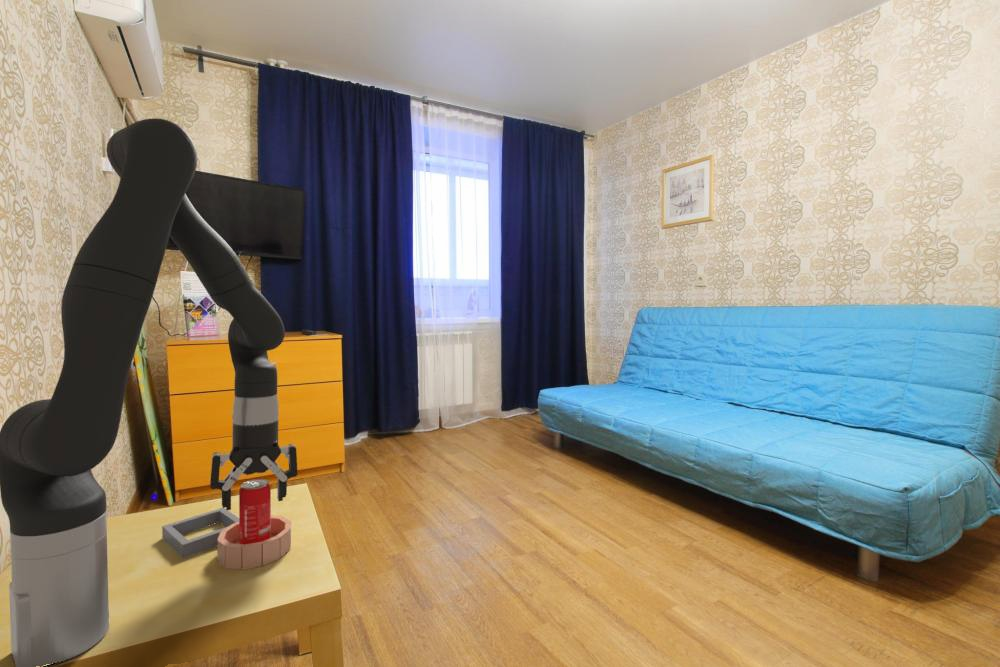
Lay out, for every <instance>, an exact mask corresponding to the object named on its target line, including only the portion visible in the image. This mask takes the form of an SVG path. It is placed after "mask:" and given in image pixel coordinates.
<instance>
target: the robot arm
mask: <svg viewBox="0 0 1000 667" xmlns="http://www.w3.org/2000/svg"><path fill="white" fill-rule="evenodd" d="M106 156H107V159H108V161H109V163H110V166H111V167H112V169H113V170H114V172H115V173H116V174H117V176H118V177H119V178H120V179H119V183H118V186H117V189H116V192H115V194H114V196H113V198H112V200H111V203H110V204H109V206H108V207H107V209H106V210H105V211H104V213H103V215H102V216H101V217H100V219H98V221H97V223H96V224H95V225H94V226H93V228H92V230H91V231H90V233H89V234H88V236H86V238H85V240H84V242H83V243H82V245H81V247H80V248H79V249H78V252H77V255H76V256H75V259H74V261H73V264H72V267H71V269H70V273H69V276H68V277H67V282H66V284H65V287H64V290H63V294H62V298H61V304H60V305H61V309H60V310H61V311H60V314H61V324H62V325H61V326H62V327H61V328H62V334H63V336H62V337H63V347H64V348H63V349H64V352H63V354H64V355H63V362H62V363H63V364H62V368H61V371H60V375H59V378H58V380H57V383H56V385H55V388H54V391H53V394H52V395H51V398H49V399H48V398H47V399H40V400H35V401H32V402H29V403H27V404H25V405H22V406H21V407H19V408H17V409H16V410H14V412H12V413H11V414H10V415H9V416H8V417H7V418H6V420H5V421H4V422H3V424H2V426H1V428H0V499H1V504H2V507H3V509H4V511H5V513H6V515H7V517H8V522H9V534H10V535H9V536H10V540H9V542H10V566H11V581H10V582H9V585H8V587H9V614H10V615H9V618H10V619H9V620H10V643H11V644H10V645H11V646H10V647H11V650H10V652H11V651H12V652H11V655H13V656H12V658H14V659H13V661H15V663H14V664H15V665H16V666H15V665H14V666H15V667H36V666H43V665H46V664H52V663H57V662H60V663H62V662H61V661H63V662H65V660H66V661H67V659H68V660H70V659H72V658H74V657H77V656H79V655H81V654H83V653H84V652H86V651H88V650H90V649H91V648H92V647H94V646H95V645H97V644H98V643H99V642H100V641H101V640H102V639H104V637H105V636H106V634H107V633H108V631H109V627H110V609H109V608H110V607H109V578H108V577H109V573H108V572H109V568H108V567H109V566H108V564H109V563H108V529H107V528H108V527H107V526H108V524H107V523H108V522H107V521H108V520H107V494H106V491H105V490H104V488H103V487H102V486H101V484H99V482H98V481H97V479H96V478H95V476H94V475H93V474H94V473H93V472H92V470H93V469H94V468H95V467H97V466H98V465H99V464H101V463H102V461H104V459H105V458H107V456H108V455H109V453H110V452H111V450H112V449H113V447H114V445H115V442H116V440H117V437H118V432H119V430H120V423H121V418H122V411H123V406H124V401H125V394H126V388H127V383H128V379H129V378H128V377H129V374H130V370H131V366H132V362H133V360H134V358H135V357H134V356H135V354H136V350H137V346H138V342H139V340H140V336H141V333H142V328H143V326H144V323H145V319H146V316H147V313H148V311H149V309H150V306H151V302H152V299H153V296H154V294H155V293H154V292H155V289H156V286H157V282H158V278H159V275H160V270H161V267H162V263H163V260H164V256H165V253H166V250H167V247H168V243H169V239H171V240H172V242H173V243H174V245H176V247H177V248H178V249H179V251H180V253H182V255H183V257H184V258H185V260H187V262H188V264H189V266H190V267H191V269H192V270H193V272H194V273H195V275H196V277H197V278H198V280H199V281H200V283H201V284H202V286H203V287H204V289H205V291H206V292H207V293H208V294H207V295H209V297H210V298H211V300H212V301H213V302H214V304H215V305H216V306H217V307H219V308H220V309H223V310H225V311H226V312H228V313H229V314H230V316H231V317H232V320H231V322H230V324H229V327H228V333H227V339H228V340H227V342H228V348H229V352H230V358H231V362H232V366H233V369H234V397H233V398H234V400H233V405H232V415H231V418H232V447H231V451H230V452H229V453H228V452H227V453H220V452H218V451H216V452H213V453H212V458H211V459H212V460H211V468H210V470H211V472H210V480H209V481H210V482H209V483H210V485H209V486H210V489H212V490H215V489H216V490H220V491H221V506H222V508H225V509H226V510H228V511H231V509H232V486H233V485H234V484H235V482H237V481H238V480H239V478H240V477H241V476H242V475H243V474H244V475H246V476H248V475H253V474H263V473H266V472H267V471H271V473H272V474H273V475H274V476H276V477H277V494H276V496H277V500H278V502H283V501H284V500H283V499H284V498H286V496H287V495H288V494H287V493H288V490H287V489H288V481H289V479H291V478H295V477H297V476H298V456H297V455H298V454H297V448H296V446H295V444H294V443H289V444H288V445H286V446H279V414H280V412H279V397H278V371H277V367H276V366H275V364H273V363H272V362H271V361H270V360H269V355H268V352H269V351H272V350H275V349H277V348H278V347H280V346H281V344H282V343H283V342H284V339H285V336H286V335H285V334H286V330H285V325H284V323H283V322H284V321H283V320H282V318H281V316H280V315H279V313H278V311H276V309H275V308H274V307H273V306H272V304H271V303H270V302H269V301H268V300H267V298H266V297H265V296H264V295H263V294H262V293H261V292H260V291H259V290H258V289H257V287H256V286H255V285H254V283H253V281H252V279H251V277H250V276H249V274H248V272H247V270H246V268H245V266H244V264H243V262H241V259H240V258H239V257H238V255H237V254H236V252H235V251H234V250H233V248H232V247H231V246H230V244H228V242H227V241H226V240H225V239H224V238H223V237H222V236H221V235H220V234H219V233H218V232H217V231H216V230H215V229H214V228H212V226H210V225H209V223H208V222H207V221H206V220H205V219H204V218H203V217H202V216H201V214H200V213H199V212H198V211H197V210H196V208H195V207H194V205H193V204H192V202H191V201H190V199H189V198H188V196H187V190H188V189H189V186H190V184H191V182H192V180H193V178H194V176H195V173H196V170H197V168H198V167H197V166H198V154H197V149H196V145H195V144H194V141H193V139H192V138H191V136H190V135H189V134H188V133H187V131H186V130H184V128H183V127H181V126H180V125H178V124H177V123H175V122H173V121H170V120H167V119H164V118H158V117H157V118H145V119H141V120H138V121H135V122H132V123H131V124H130V125H127V126H126V127H123V128H121V129H119V130H118V131H116V132H115V133H114V134H112V135H111V136H110V138H108V141H107V144H106ZM281 454H283V455H284V458H287V459H288V470H285V471H284V469H283V468H281V467H280V466H279V464H278V463H277V459H278V458H279V457H280V455H281ZM228 460H229V461H230V462H231V463H232V464H233V465H234V466H233V468H232V469H231V470H230V472H229V473H228V475H227V476H226V477H225V478H224V479H220V471H221V470H220V469H221V467H223V466H225V464H226V462H227V461H228ZM57 664H58V663H57Z"/></svg>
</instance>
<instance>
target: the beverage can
mask: <svg viewBox="0 0 1000 667" xmlns="http://www.w3.org/2000/svg"><path fill="white" fill-rule="evenodd" d="M271 488H272V487H271V484H270V481H269V480H268V479H264V478H258V479H250V480H247V481H245V482H243V483H242V484H241V485H240V488H239V491H238V492H239V496H238V497H239V498H238V502H239V503H238V505H239V506H238V507H239V509H238V510H239V513H238V514H239V516H238V518H239V544H251V543H257V542H262V541H265V540H267V539H270V538H271V516H272V515H271V514H272V513H271V512H272V510H271V509H272V508H271V505H272V504H271V497H272V496H271V494H272V492H271V491H272V490H271Z"/></svg>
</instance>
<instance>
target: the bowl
mask: <svg viewBox="0 0 1000 667" xmlns="http://www.w3.org/2000/svg"><path fill="white" fill-rule="evenodd" d="M291 545H292V521H291V520H289V519H288V518H286V517H284V516H281V515H271V538H270V539H267V540H265V541H262V542H257V543H251V544H239V522H236V523H233V524H232V525H230V526H229V527H227V528H226V529H224V530H222V531H221V532H220V535H219V537H218V540H217V546H216V547H217V563H218V564H220V565H221V566H222V567H223V568H225V569H232V570H247V569H253V568H259V567H260V568H261V567H263V566H266V565H269V564H270V563H273V562H276V561H277V560H280V559H281V558H282V557H283V556H285V555H286V554H287V553H288V552H289V551H290V550H291V548H290V547H291ZM288 550H289V551H288ZM286 552H287V553H286ZM285 553H286V554H285Z"/></svg>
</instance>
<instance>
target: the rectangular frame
mask: <svg viewBox="0 0 1000 667" xmlns="http://www.w3.org/2000/svg"><path fill="white" fill-rule="evenodd" d="M217 522H219V523H220V524H221V523H222V524H223V525H222V524H221V525H222V526H223V527H222V528H220V529H216V530H214V531H211V532H208V533H205V534H203V535H199V536H195V537H193V538H190V539H187V538H186V537H185V536H184V535H185V534H189V533H191V532H195V531H198V530H201V529H204V528H207V527H210V526H213V525H215V524H214V523H216V524H218V523H217ZM236 522H239V516H237V515H235V514H234V513H232V512H231V511H230V510H226V507H225V508H223V507H220V508H217V509H214V510H210V511H207V512H204V513H201V514H198V515H193V516H191V517H188V518H183V519H182V520H178V521H174V522H171V523H168V524H166V525H165V524H164V525H162V527H161V529H162V531H161V532H162V533H161V534H162V536H161V537H162V540H163V541H165V543H166V544H168V546H170V548H172V549H173V550H174V551H175V552H176V554H178V555H179V556H180V557H181V558H182V559H184V558H188V557H190V556H193V555H196V554H198V553H202V552H205V551H206V550H210V549H212V548H215V547H217V540H218V537H219V535H220V532H221V531H222V530H224V529H226V528H227V527H229V526H230V525H232V524H233V523H236ZM212 524H213V525H212ZM209 525H210V526H209ZM225 526H226V527H225Z"/></svg>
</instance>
